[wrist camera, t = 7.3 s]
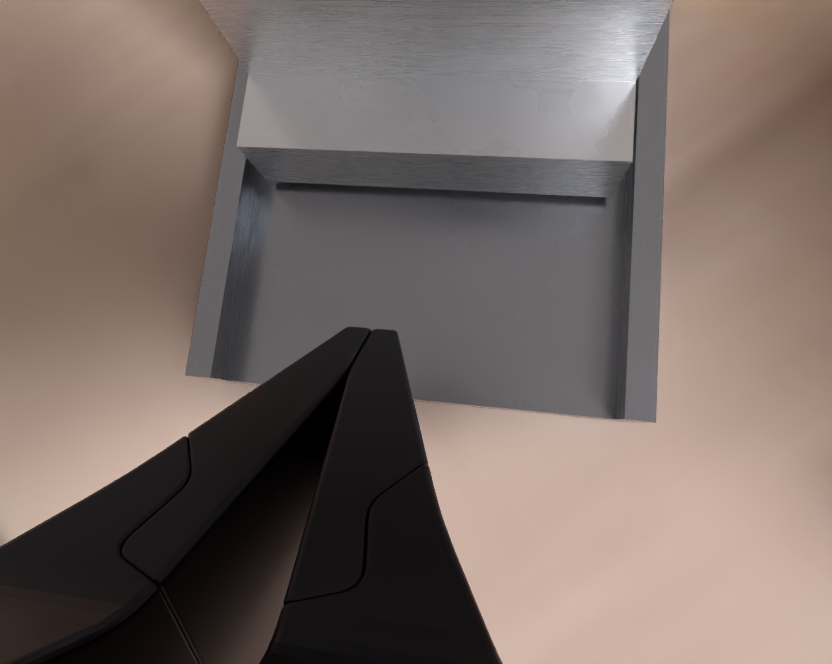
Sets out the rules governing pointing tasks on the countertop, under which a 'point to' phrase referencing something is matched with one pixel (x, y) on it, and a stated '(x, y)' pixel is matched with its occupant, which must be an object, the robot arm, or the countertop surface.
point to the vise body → (448, 279)
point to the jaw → (441, 91)
